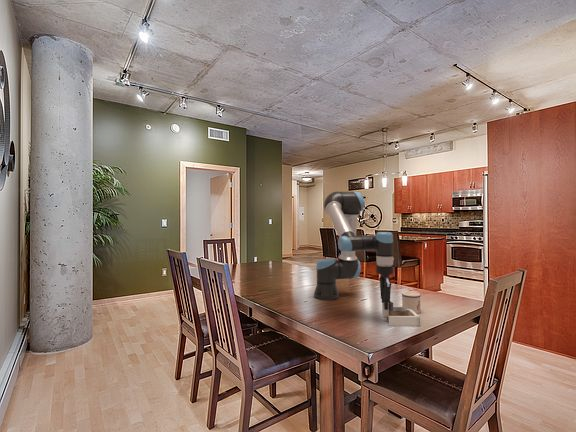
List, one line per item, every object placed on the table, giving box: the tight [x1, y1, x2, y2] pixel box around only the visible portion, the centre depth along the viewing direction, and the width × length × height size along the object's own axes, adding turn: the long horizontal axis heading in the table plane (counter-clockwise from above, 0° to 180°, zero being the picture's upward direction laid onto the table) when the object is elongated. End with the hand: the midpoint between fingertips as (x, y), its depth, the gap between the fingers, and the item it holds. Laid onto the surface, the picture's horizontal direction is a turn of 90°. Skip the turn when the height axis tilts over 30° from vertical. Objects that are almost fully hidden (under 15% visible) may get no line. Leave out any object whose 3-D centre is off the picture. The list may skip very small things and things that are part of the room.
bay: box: [382, 309, 421, 327], centre depth 145 cm, size 14×12×4 cm
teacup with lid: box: [401, 287, 421, 315], centre depth 161 cm, size 12×9×12 cm
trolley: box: [386, 300, 409, 322], centre depth 145 cm, size 8×6×9 cm
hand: (385, 315), depth 145 cm, fingers closed
